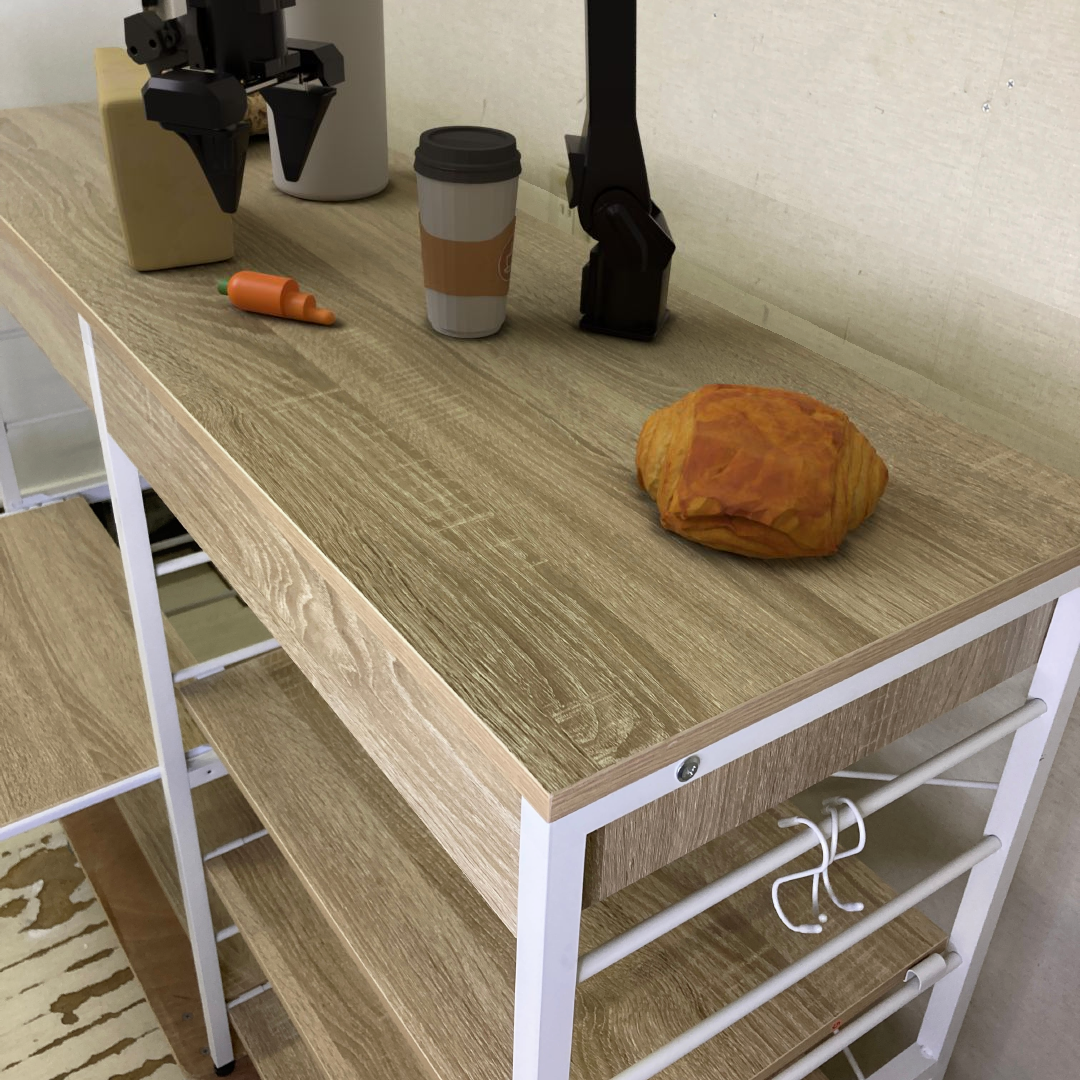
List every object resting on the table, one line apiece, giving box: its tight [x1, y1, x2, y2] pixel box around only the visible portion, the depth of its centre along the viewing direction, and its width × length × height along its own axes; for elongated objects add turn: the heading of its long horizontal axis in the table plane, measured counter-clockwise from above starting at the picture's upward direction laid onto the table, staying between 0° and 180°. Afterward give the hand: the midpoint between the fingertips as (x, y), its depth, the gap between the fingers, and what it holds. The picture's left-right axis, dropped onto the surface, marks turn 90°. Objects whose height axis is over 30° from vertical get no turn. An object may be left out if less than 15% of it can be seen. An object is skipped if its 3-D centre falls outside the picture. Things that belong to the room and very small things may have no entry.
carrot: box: [217, 270, 336, 326], centre depth 90 cm, size 10×3×3 cm, turn 71°
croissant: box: [634, 383, 890, 560], centre depth 67 cm, size 14×16×8 cm
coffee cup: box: [412, 125, 523, 339], centre depth 87 cm, size 8×8×15 cm
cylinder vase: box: [266, 0, 390, 202], centre depth 114 cm, size 12×12×25 cm
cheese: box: [93, 46, 235, 272], centre depth 102 cm, size 22×10×15 cm, turn 29°
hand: (262, 196), depth 86 cm, fingers open, 9 cm apart
